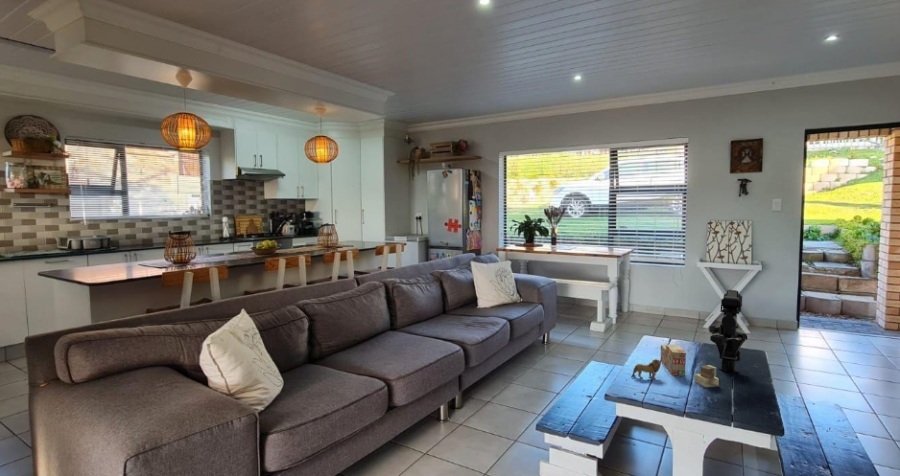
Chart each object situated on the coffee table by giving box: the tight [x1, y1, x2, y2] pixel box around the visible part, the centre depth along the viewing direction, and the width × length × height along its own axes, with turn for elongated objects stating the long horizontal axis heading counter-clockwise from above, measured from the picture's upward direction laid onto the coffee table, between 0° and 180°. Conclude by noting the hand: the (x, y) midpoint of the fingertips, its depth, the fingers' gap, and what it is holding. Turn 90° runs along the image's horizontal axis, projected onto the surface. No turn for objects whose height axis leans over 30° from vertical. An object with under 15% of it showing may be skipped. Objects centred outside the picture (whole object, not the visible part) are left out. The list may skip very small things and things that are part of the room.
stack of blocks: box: [660, 344, 687, 377], centre depth 237 cm, size 21×6×12 cm, turn 170°
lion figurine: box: [630, 359, 662, 380], centre depth 224 cm, size 15×5×9 cm, turn 95°
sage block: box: [707, 364, 717, 377], centre depth 227 cm, size 4×4×4 cm
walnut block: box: [700, 365, 714, 379], centre depth 216 cm, size 4×4×4 cm
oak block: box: [694, 373, 720, 388], centre depth 216 cm, size 7×7×4 cm
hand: (727, 354), depth 221 cm, fingers open, 9 cm apart
